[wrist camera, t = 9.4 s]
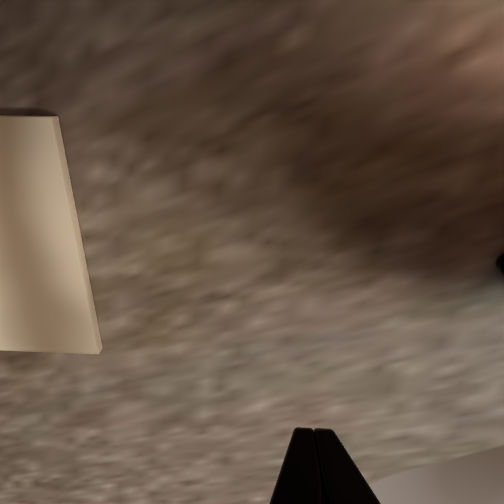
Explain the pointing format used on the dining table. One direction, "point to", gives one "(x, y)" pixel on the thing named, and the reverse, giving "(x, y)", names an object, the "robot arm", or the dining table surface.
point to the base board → (41, 244)
